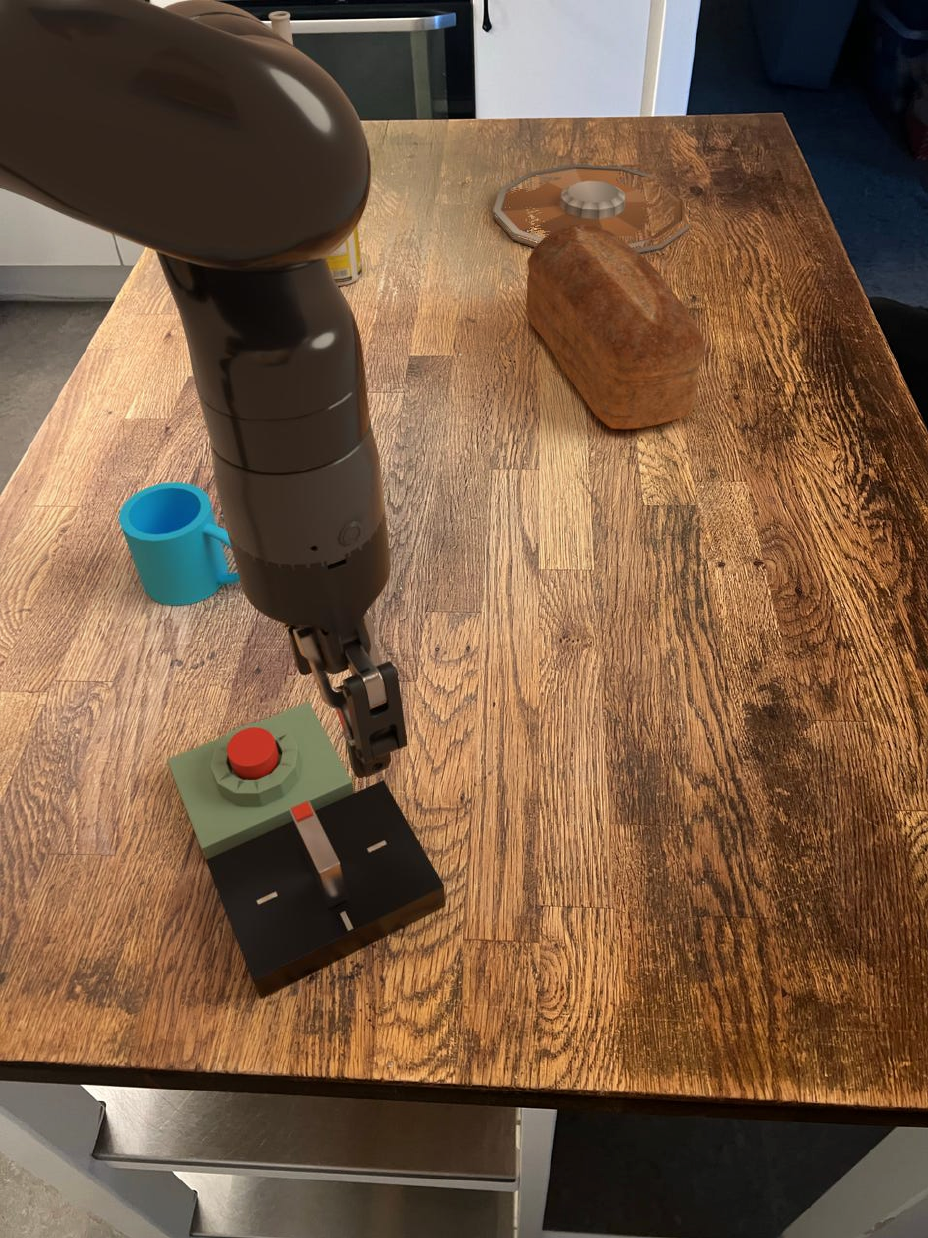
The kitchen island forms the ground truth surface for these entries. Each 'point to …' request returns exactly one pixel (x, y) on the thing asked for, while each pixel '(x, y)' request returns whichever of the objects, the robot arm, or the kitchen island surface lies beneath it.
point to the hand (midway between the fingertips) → (342, 715)
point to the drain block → (259, 781)
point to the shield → (580, 205)
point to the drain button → (253, 753)
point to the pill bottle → (346, 261)
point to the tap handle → (318, 854)
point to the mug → (176, 543)
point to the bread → (614, 327)
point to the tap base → (293, 905)
